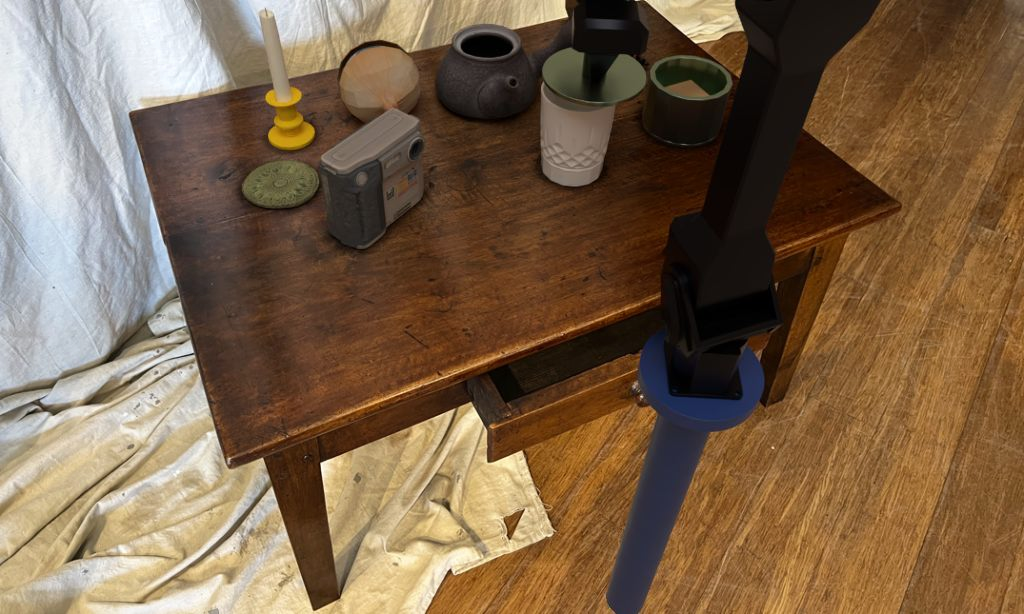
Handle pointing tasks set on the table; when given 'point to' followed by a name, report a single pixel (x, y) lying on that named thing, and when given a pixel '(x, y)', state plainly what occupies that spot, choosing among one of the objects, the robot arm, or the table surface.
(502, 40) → the teapot
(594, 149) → the white cup
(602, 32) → the robot arm
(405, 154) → the camera
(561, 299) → the table surface
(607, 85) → the lid
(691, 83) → the block
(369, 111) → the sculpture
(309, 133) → the candle
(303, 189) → the medallion
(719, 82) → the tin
